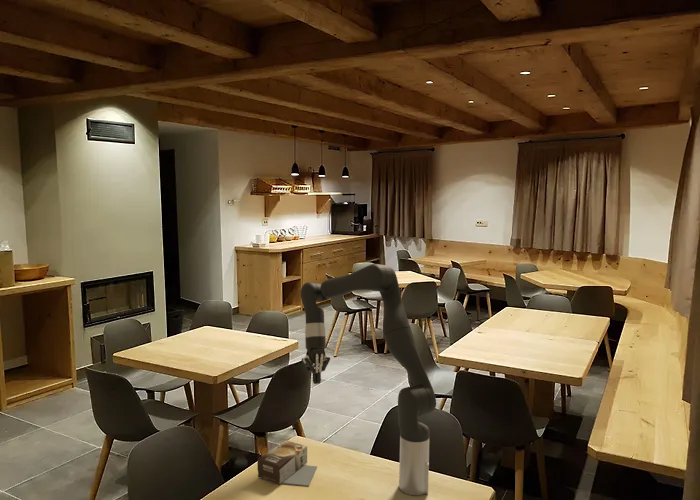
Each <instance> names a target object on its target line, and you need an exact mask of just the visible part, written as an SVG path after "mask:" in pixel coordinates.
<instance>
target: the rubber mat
mask: <svg viewBox="0 0 700 500" xmlns="http://www.w3.org/2000/svg"><path fill="white" fill-rule="evenodd" d="M317 469H318V466H317V465H306V464H305V465H304V466H302V467H301V468H300V469H299V470H297V471H296V472H295V473H293V474H292V475H291V476H290V477H288V478H287V479H286V480H285V481H283V482H282V483H281V485H289V486H299V487H300V486H301V487H310V485H311V482H312V480H313V478H314V476H315V472H316V471H317ZM266 483H269V484H275V483H274V482H271V481H268V480H266Z"/></svg>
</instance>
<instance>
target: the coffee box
mask: <svg viewBox="0 0 700 500" xmlns="http://www.w3.org/2000/svg"><path fill="white" fill-rule="evenodd" d="M307 463H308V446H307V445H304V444H301V443H297V442H294V441H290V440H287V439H286V440H284V441H282V442H281V443H280V444H278V445H277V446H275V447H274V448H272V449H271V450H269V451H268V452H267V453H265V454H263V455H262V456H261V457H259V458H257V473H258V474H257V477H258V478H260V479H264V480H266V481H267V480H268V481H271V482H274V483H273V484H277V485H280V484H281V483H282V482H283V481H285V480H286V479H287V478H288V477H290V476H291V475H292V474H293V473H295V472H296V471H297V470H299V469H300V468H301V467H302V466H304V465H306V464H307ZM281 485H282V484H281Z"/></svg>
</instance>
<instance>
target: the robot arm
mask: <svg viewBox="0 0 700 500" xmlns="http://www.w3.org/2000/svg"><path fill="white" fill-rule="evenodd" d="M361 290H364V291H365V290H366V291H367V290H368V291H372V292H373V291H374V292H379V293H380V296H381V299H382V302H383V308H384V314H383V322H382V333H383V334H382V335H383V337H384V340H385V344H386V347H387V350H388V351H389V353H390V354H391V355H392V357H393V358H395V360H396V361H397V362H398V363H399V365H402V367H403V368H404V369H405V371H406V372H407V374H408V376H409V378H410V380H411V383H412V386H408V387H407V386H405V387H403V388H401V389H400V391H399V393H398V396H397V413H398V414H397V419H398V422H397V423H398V427H399V433H400V434H399V464H398V465H399V469H398V470H399V471H398V474H399V475H398V488H399V490H400V491H401V492H402V493H404V494H406V495H408V496H409V495H410V496H421V495H425V494H427V495H428V494H429V478H430V477H429V474H430V473H429V472H430V471H429V469H430V432H431V431H430V427H429V426H428V425H426V424H425V423H423V422H421V421H419V419H418V418H419V417H421V416H424V415H428V414H431V413H433V412H434V411H436V406H437V398H436V394H435V391H434V389H433V386H432V383H431V381H430V378H429V377H428V374H427V371H426V369H425V368H424V364H423V361H422V359H421V357H420V353H419V350H418V348H417V344H416V340H415V338H414V334H413V330H412V328H411V325H410V322H409V319H408V315H407V313H406V309H405V306H404V302H403V300H402V295H401V290H400V285H399V282H398V277H397V274H396V271H395V269H394V268H393V267H391V266H389V265H388V264H387V265H386V264H378V263H372V264H370V265H367V266H365V267H363V268H360V269H359V270H356V271H354V272H352V273H351V272H350V273H349V274H345V275H341V276H338V277H337V276H336V277H332V278H330V279H329V278H328V279H326V280H324V281H323V282H321V283H317V282H311V281H310V282H305V283H304V284H303V285H302V286H301V289H300V299H301V303H302V307H303V309H304V313H305V314H304V315H305V330H304V334H305V335H304V336H305V338H304V339H305V349H306V353H305V356H304V357H302V358H301V363H302V364H303V365H304V367H305V368H306V370H307V372H309V373H312V383H313V384H314V385H318V384H319V385H320V384H321V382H322V375H321V374H322V372H325V371H326V369H327V367H328V365H329V363H330V360H331V357H330V356H327V355H326V351H325V349H326V348H327V342H326V341H327V340H326V339H327V338H326V327H325V312H324V309H323V308H321V307H319V306H318V304H317V303H321V302H326V301H328V300H330V299H333V298H334V299H335V298H338V297H343V296H345V295H348V294H349V293H351V292H354V291H361Z"/></svg>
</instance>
